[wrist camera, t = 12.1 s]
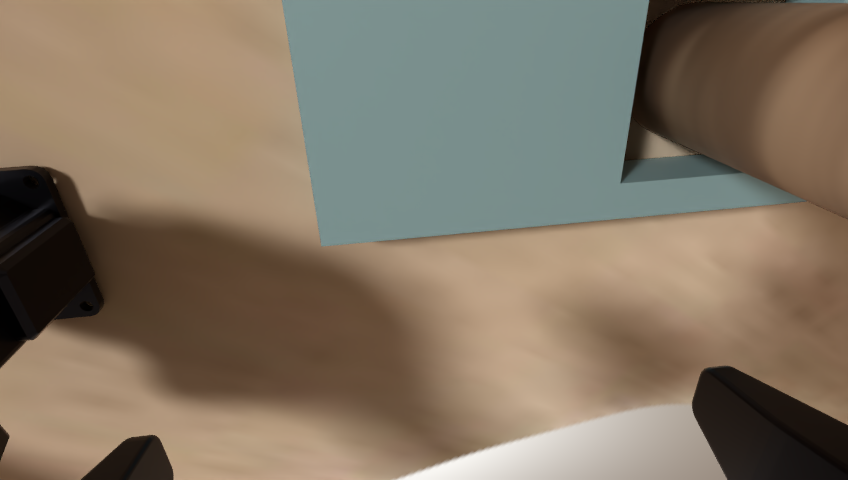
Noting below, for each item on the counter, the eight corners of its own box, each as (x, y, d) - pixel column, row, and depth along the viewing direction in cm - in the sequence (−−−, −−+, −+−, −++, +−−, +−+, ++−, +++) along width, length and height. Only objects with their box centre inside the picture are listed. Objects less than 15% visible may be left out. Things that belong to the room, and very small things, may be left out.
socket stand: (325, 218, 20) (321, 246, 18) (283, -61, 15) (270, -71, 13) (765, 180, 22) (812, 200, 20) (846, -82, 17) (917, -93, 15)
